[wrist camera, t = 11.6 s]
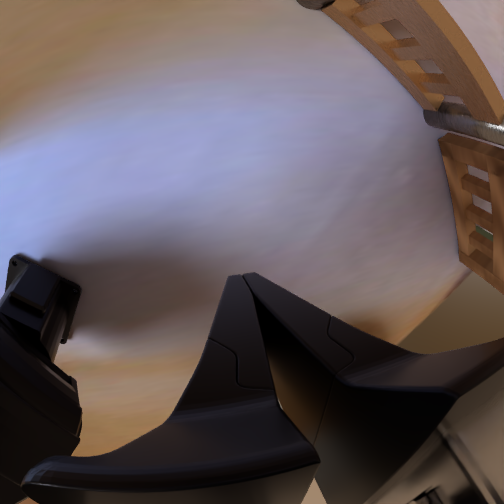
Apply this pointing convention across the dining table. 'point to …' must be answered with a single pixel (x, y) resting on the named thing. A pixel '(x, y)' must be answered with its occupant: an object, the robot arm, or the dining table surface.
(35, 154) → the dining table surface
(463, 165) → the gate
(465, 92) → the wooden fence panel
